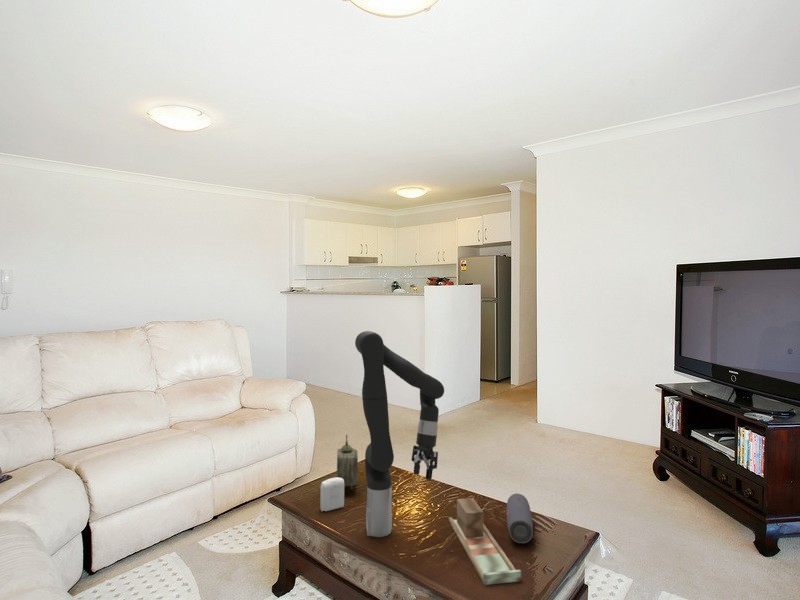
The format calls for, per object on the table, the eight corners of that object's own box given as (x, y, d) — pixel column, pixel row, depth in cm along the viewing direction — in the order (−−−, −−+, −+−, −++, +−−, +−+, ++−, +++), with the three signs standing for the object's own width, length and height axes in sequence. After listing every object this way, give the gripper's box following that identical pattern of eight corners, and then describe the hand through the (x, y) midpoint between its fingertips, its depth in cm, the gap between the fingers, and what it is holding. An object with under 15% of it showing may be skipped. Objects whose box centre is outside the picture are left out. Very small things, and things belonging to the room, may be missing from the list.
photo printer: (341, 503, 197) (341, 474, 197) (345, 506, 193) (345, 477, 193) (318, 509, 191) (318, 479, 191) (323, 513, 187) (323, 482, 187)
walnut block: (466, 537, 168) (466, 513, 168) (456, 522, 180) (456, 499, 180) (483, 536, 169) (483, 512, 169) (472, 520, 181) (472, 497, 181)
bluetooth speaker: (505, 515, 186) (505, 491, 185) (529, 518, 184) (529, 493, 184) (506, 545, 163) (507, 517, 163) (534, 548, 161) (534, 520, 161)
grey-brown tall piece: (337, 483, 217) (337, 430, 216) (357, 483, 218) (357, 430, 217) (336, 497, 202) (337, 440, 202) (357, 496, 203) (357, 439, 203)
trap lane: (484, 584, 141) (484, 575, 141) (448, 520, 181) (448, 512, 181) (521, 581, 143) (521, 571, 143) (477, 518, 183) (477, 510, 183)
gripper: (409, 429, 181) (404, 472, 178) (429, 435, 168) (424, 481, 165) (425, 430, 184) (420, 473, 181) (445, 436, 172) (441, 481, 169)
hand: (422, 477), depth 173 cm, fingers open, 8 cm apart
